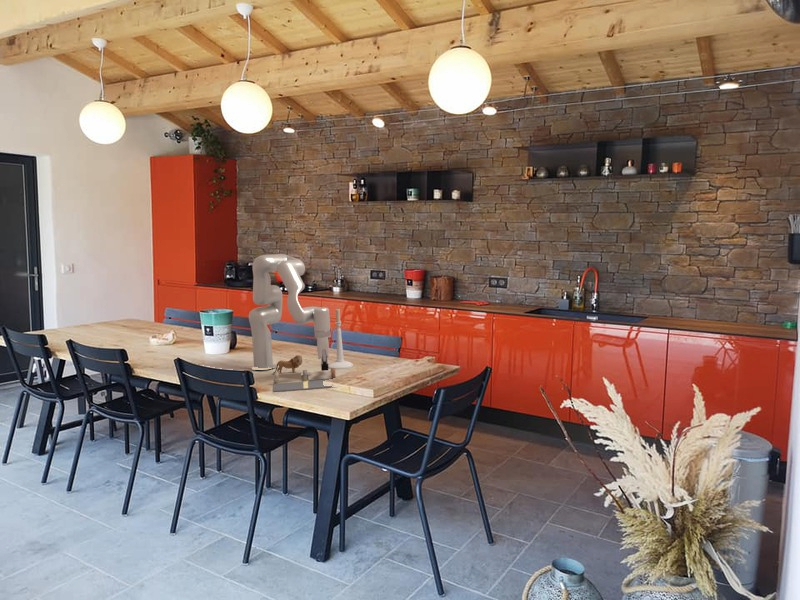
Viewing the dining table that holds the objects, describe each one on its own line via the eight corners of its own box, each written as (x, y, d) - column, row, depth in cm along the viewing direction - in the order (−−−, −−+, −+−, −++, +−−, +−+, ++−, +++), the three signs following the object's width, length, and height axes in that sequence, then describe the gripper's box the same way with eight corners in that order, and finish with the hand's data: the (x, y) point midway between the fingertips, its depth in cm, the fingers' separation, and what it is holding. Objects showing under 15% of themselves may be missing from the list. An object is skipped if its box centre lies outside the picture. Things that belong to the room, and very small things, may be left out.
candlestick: (322, 367, 296) (319, 309, 292) (339, 362, 306) (336, 306, 303) (342, 370, 288) (339, 310, 285) (358, 365, 299) (355, 307, 296)
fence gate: (308, 380, 266) (308, 370, 266) (308, 379, 268) (308, 369, 267) (335, 378, 268) (335, 368, 268) (335, 377, 270) (335, 367, 270)
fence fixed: (275, 382, 265) (274, 372, 265) (307, 380, 268) (307, 369, 267) (274, 383, 264) (274, 373, 263) (307, 381, 266) (307, 370, 265)
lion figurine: (303, 371, 288) (302, 354, 287) (302, 374, 283) (301, 356, 282) (273, 373, 287) (272, 355, 286) (272, 375, 282) (271, 357, 281)
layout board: (275, 378, 276) (275, 377, 276) (334, 373, 281) (334, 372, 281) (273, 392, 251) (273, 390, 251) (338, 387, 255) (338, 385, 255)
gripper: (314, 332, 279) (316, 369, 280) (315, 336, 264) (317, 376, 266) (329, 331, 280) (332, 368, 282) (331, 335, 265) (333, 375, 267)
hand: (325, 372), depth 274 cm, fingers closed
